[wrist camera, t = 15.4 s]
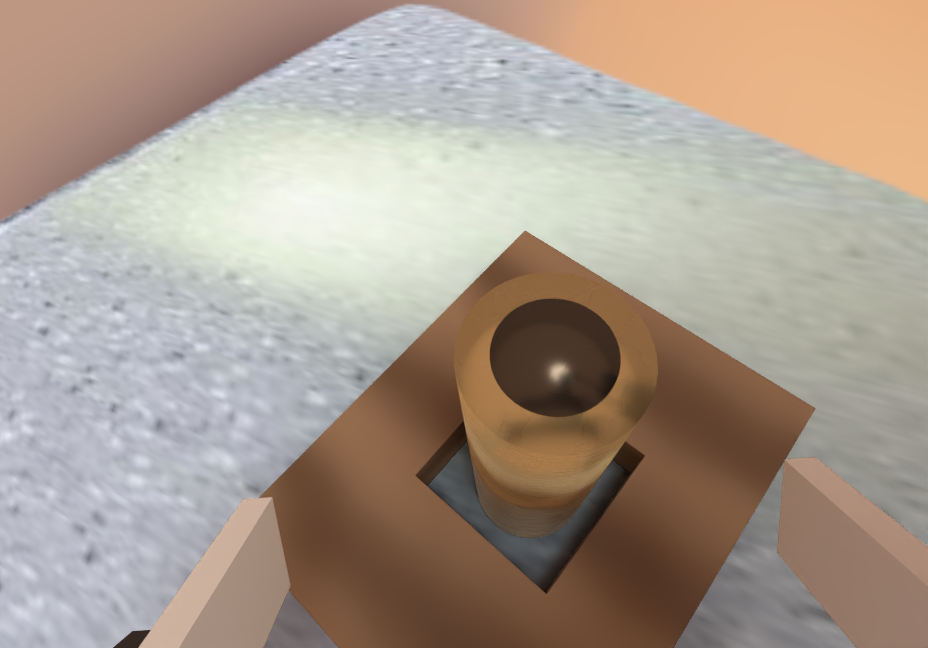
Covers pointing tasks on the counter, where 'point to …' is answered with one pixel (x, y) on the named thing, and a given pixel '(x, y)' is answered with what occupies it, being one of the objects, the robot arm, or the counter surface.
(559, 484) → the brass bushing
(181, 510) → the counter surface
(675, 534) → the walnut jig plate
